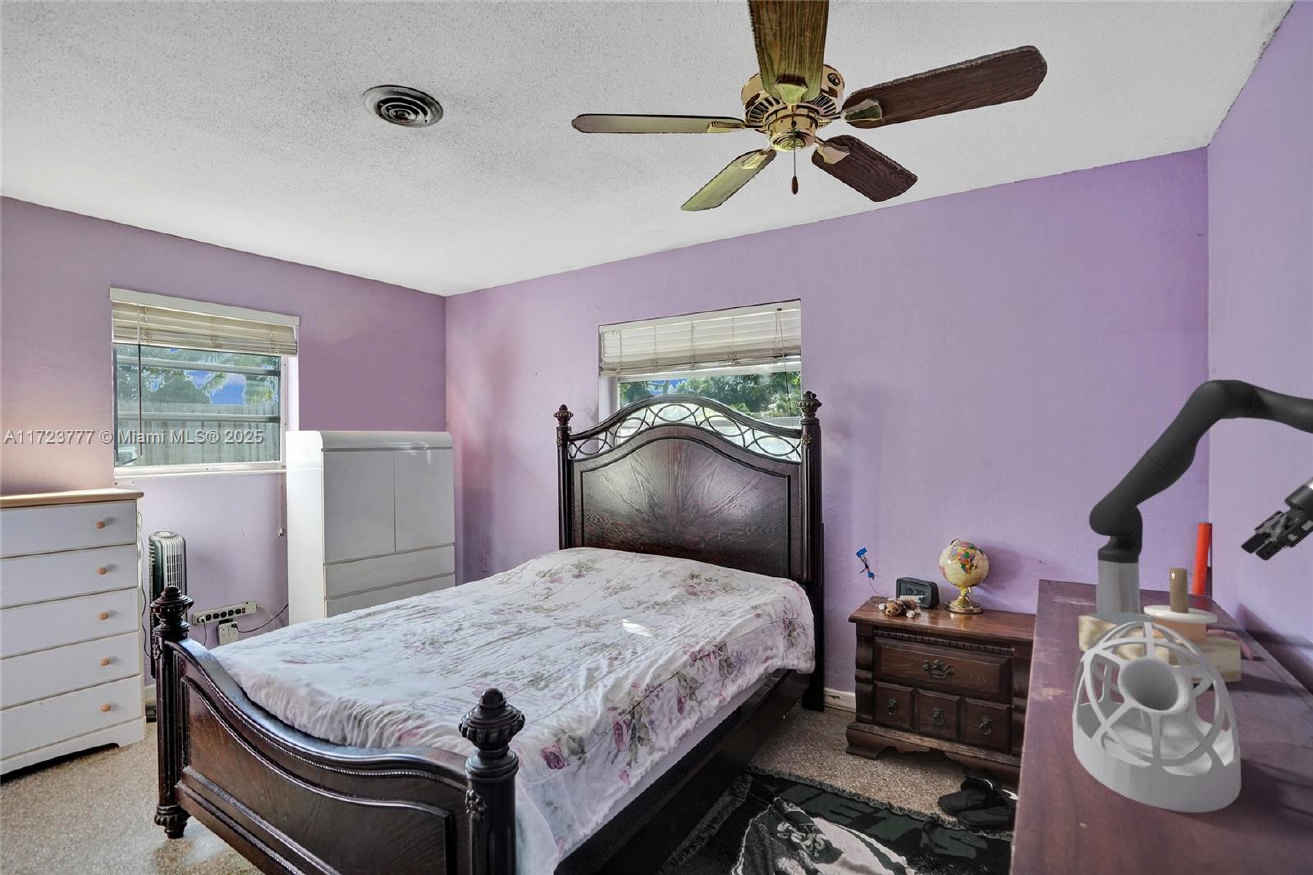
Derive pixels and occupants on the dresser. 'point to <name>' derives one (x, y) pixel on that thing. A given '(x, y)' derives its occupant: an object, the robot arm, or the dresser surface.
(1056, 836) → the dresser surface
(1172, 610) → the lid
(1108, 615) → the mat
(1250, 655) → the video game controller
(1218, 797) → the lampshade
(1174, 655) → the riser
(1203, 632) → the bowl
